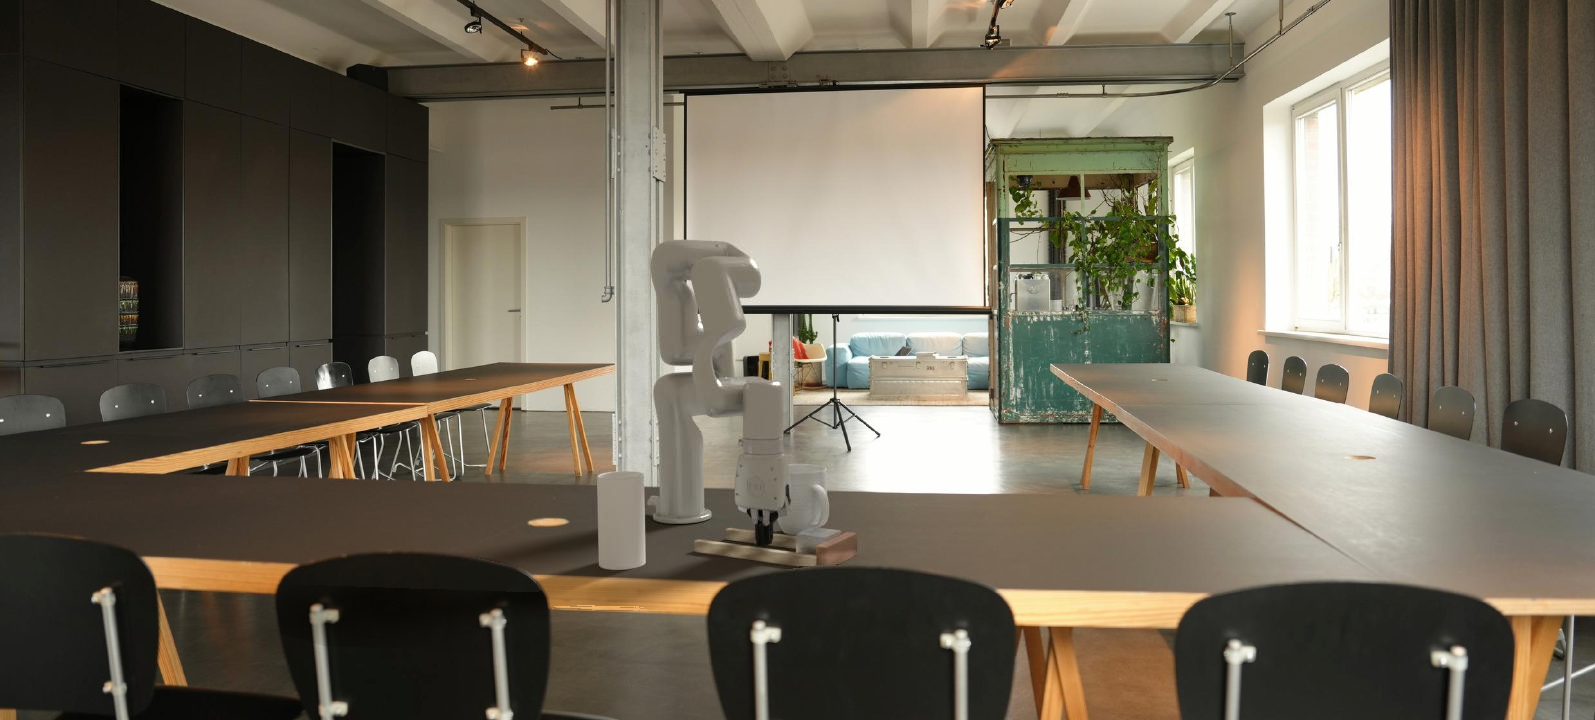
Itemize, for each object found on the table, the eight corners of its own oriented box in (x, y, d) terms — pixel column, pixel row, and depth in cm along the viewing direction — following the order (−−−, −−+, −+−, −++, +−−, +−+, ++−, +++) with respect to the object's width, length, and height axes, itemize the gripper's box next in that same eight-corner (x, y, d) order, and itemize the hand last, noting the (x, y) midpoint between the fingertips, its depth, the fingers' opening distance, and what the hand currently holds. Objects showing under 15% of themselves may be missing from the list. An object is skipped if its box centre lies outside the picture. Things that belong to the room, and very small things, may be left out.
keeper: (796, 561, 172) (795, 533, 172) (812, 553, 177) (811, 526, 177) (825, 565, 169) (825, 537, 169) (841, 557, 175) (840, 530, 174)
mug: (849, 537, 189) (849, 471, 188) (803, 545, 183) (802, 477, 182) (807, 523, 201) (806, 461, 201) (762, 530, 195) (761, 467, 194)
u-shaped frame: (694, 551, 179) (693, 530, 179) (729, 537, 189) (729, 517, 189) (826, 570, 165) (826, 547, 165) (857, 554, 176) (857, 533, 175)
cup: (601, 558, 175) (600, 471, 174) (647, 556, 176) (645, 470, 175) (596, 570, 167) (594, 479, 166) (643, 569, 167) (642, 478, 167)
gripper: (718, 446, 178) (719, 544, 179) (788, 452, 171) (789, 554, 172) (740, 441, 184) (741, 535, 186) (808, 447, 177) (809, 544, 178)
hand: (764, 544), depth 179 cm, fingers closed
